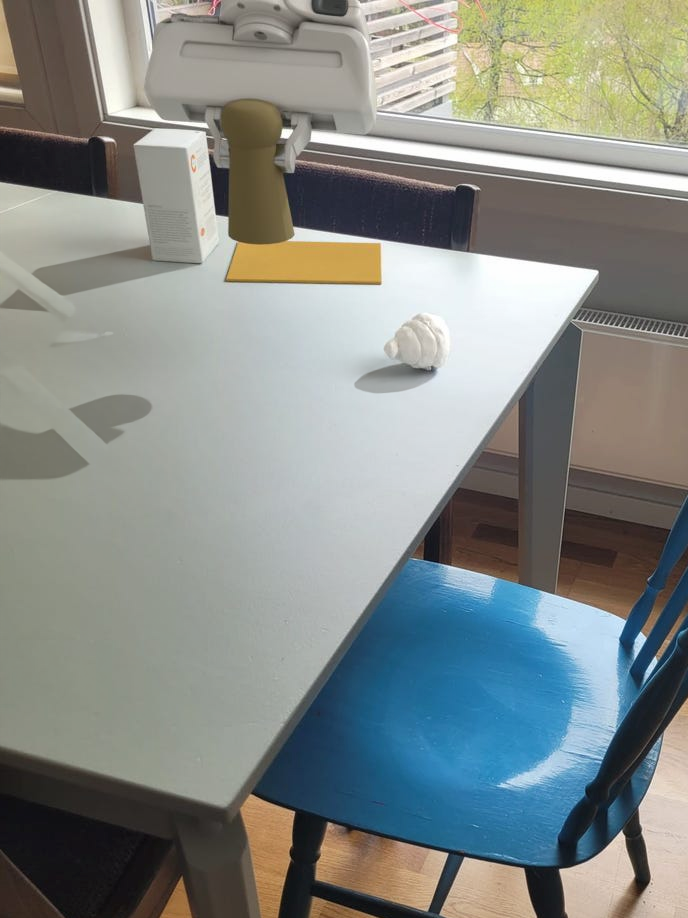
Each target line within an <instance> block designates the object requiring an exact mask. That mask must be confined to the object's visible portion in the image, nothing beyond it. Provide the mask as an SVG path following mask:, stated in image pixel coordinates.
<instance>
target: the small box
mask: <svg viewBox="0 0 688 918" xmlns="http://www.w3.org/2000/svg"><path fill="white" fill-rule="evenodd" d="M132 146H133V151H134V157H135V164H136V170H137V176H138V181H139V188H140V194H141V198H142V205H143V212H144V218H145V223H146V228H147V235H148V241H149V246H150V248H149V249H150V253H151V258H152V260H153V261H154V262H155V261H156V262H171V263H172V262H173V263H174V262H175V263H188V264H203V263H204V261H205V260H206V259H207V258H208V257H209V255H210V254H211V253H212V252H213V250H214V249H215V248H216V246H217V245H218V244H220V239H219V230H218V222H217V214H216V206H215V198H214V190H213V189H214V188H213V181H212V172H211V164H210V156H209V148H208V139H207V133H206V131H203V130H193V129H178V128H158V127H157V128H156V127H155V128H153V129H152V130H151V131H150V132H148V133H147V134H146V135H144V136H143V137H142V138H141V139H139V140H137V141H136V142H135V143H134V144H132Z"/></svg>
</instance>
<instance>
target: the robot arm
mask: <svg viewBox="0 0 688 918" xmlns="http://www.w3.org/2000/svg"><path fill="white" fill-rule="evenodd" d="M369 31H370V30H369V25H368V22H367V19H366V15H365V12H364V9H363V6H362V4H361V1H360V0H221V1H220V9H219V15H213V14H198V15H197V14H196V15H195V14H194V15H193V14H192V15H191V14H187V13H182V12H177V13H172V14H171V16H170V17H168V18H165V19H163V20H161V21H160V22H158V23H156V25H155V26H154V29H153V35H152V43H151V48H152V50H151V53H150V57H149V60H148V64H147V68H146V73H145V77H144V85H143V90H144V93H145V96H146V98H147V100H148V102H149V104H150V105H151V108H152V109H153V110H154V112H155V113H156V114H157V116H158V117H159V118H160V119H162V120H163V121H168V122H180V123H181V122H184V123H194V124H195V123H197V124H206V125H207V127H208V130H209V132H210V134H211V136H212V139H213V141H214V146H213V152H212V153H213V155H212V156H213V157H212V158H213V162H214V163H215V166H216V167H217V168H219V169H229V165H230V143H229V142H228V140H227V139H223V137H222V135H224V134H223V131H222V126H221V112H222V109H223V107H224V105H226V104H227V103H228V102H230V101H233V100H238V99H246V98H251V99H260V100H264V101H268V102H270V103H272V104H274V105H275V106H276V107H277V109H278V111H279V113H280V116H281V119H282V130H292V132H291V133H290V135H289V137H288V138H287V139H286V141H285V143H277V144H276V151H275V152H276V154H275V155H274V165H275V166H276V167H277V168H278V169H279V170H280V172H283V174H284V173H285V174H286V173H287V174H294V173H295V169H296V160H297V157H298V156H299V155H300V154H301V153H302V152H303V150H304V149H305V148H306V146H307V145H308V144H309V143H310V142H311V139H312V132H320V133H321V132H322V133H334V134H335V133H337V134H348V135H349V134H350V135H367V134H368V133H370V132H371V131H372V130H373V128H374V127H375V126H376V124H377V115H378V92H377V82H376V76H375V75H376V74H375V69H374V65H373V59H372V55H371V40H370V32H369ZM221 134H222V135H221Z"/></svg>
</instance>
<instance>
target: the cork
mask: <svg viewBox="0 0 688 918" xmlns="http://www.w3.org/2000/svg"><path fill="white" fill-rule="evenodd" d="M221 126H222V131H223V134H222V135H223V136H224V138H225V140H228V142H229V143H230V165H229V168H228V219H227V221H228V222H227V224H228V226H227V235H228V237H229V238H230V240H232V241H235V242H237V243H238V242H242V243H247V244H258V245H260V244H275V243H280V242H284V241H290V240H291V239H293V237H295V229H294V224H293V218H292V214H291V213H292V212H291V209H290V204H289V199H288V193H287V188H286V182H285V177H284V172H280V170H279V169H278V168H277V167H276V166H275V165H274V155H275V154H276V152H275V151H276V144H279V143H278V142H279V140H280V139H281V137H282V132H283V129H282V119H281V116H280V113H279V111H278V109H277V107H276V106H275V105H274V104H272V103H270V102H268V101H264V100H260V99H251V98H246V99H238V100H233V101H230V102H228V103H227V104H226V105H224V107H223V109H222V112H221Z"/></svg>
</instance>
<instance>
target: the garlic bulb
mask: <svg viewBox="0 0 688 918" xmlns="http://www.w3.org/2000/svg"><path fill="white" fill-rule="evenodd" d="M383 351H384V353H385V355H386V356H387V357H388V358H389V359H390V360H399V361H401V363H405V364H406V365H410V366H411V368H413V369H423V370H427V371H431V370H432V367H433V368H435V369H437V370H438V369H441V368H442V367H444V366H445V364H446V363H447V360H448V358H449V356H450V353H451V336H450V331H449V328H448V326H447V324H446V323H445V320H444V319H443V318H442V317H441V316H440V315H434V314H432V313H429V312H419V313H418V314H416V315H414V316H413V317H412V318H411V319H409V320H407V321H406V322H404V323H403V324H402V325H401V326H400V327H399V328H398V329H397V330H396V332H395V333H394V337H392V338H391V339H390V340H388V341H387V342H386V343H385V345H383Z"/></svg>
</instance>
